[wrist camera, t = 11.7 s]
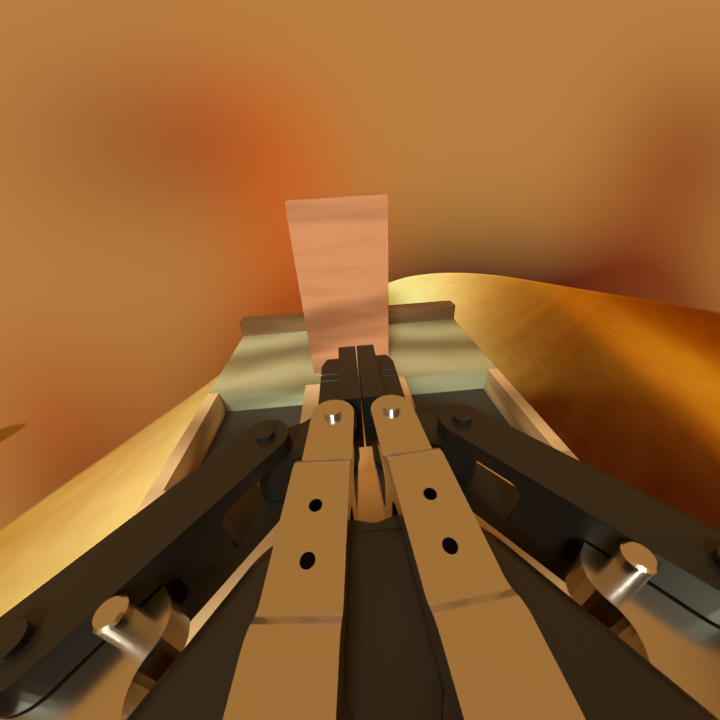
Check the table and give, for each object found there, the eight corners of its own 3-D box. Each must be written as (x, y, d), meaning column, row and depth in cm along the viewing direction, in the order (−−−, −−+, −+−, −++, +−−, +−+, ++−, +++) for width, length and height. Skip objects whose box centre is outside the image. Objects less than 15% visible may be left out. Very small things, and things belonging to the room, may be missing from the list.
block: (388, 366, 23) (387, 195, 16) (313, 373, 23) (284, 201, 16) (378, 333, 28) (374, 193, 22) (317, 339, 28) (296, 198, 21)
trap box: (723, 687, 9) (806, 655, 7) (27, 777, 8) (-74, 767, 7) (446, 330, 32) (450, 300, 30) (252, 346, 31) (243, 317, 30)
